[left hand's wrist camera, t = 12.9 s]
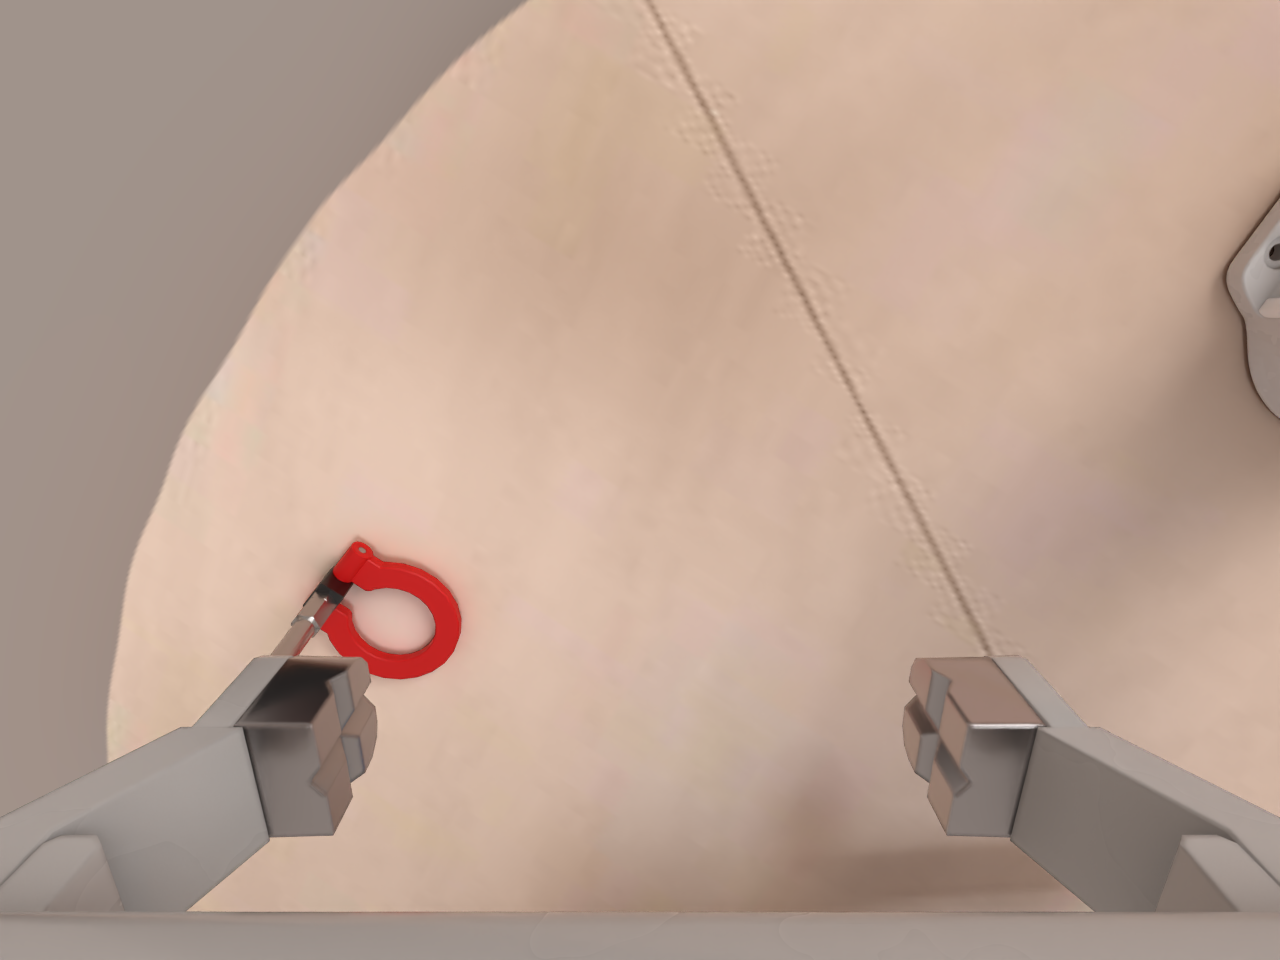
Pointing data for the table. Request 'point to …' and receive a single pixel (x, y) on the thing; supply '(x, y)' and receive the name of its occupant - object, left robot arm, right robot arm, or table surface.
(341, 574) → the tow hook
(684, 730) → the table surface
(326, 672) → the left robot arm
